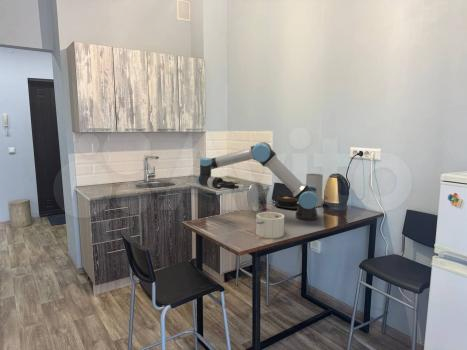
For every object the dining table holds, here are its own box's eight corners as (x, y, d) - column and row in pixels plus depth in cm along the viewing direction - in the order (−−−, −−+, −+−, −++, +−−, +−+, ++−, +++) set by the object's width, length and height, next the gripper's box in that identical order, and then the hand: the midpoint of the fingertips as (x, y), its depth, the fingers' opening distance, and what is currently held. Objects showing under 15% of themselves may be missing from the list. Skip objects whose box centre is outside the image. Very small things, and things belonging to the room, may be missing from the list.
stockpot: (245, 234, 195) (245, 216, 194) (268, 226, 213) (268, 209, 211) (269, 241, 184) (270, 222, 183) (292, 231, 202) (292, 214, 200)
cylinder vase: (322, 204, 270) (323, 174, 267) (320, 208, 259) (321, 176, 255) (306, 203, 275) (307, 173, 271) (303, 206, 263) (305, 175, 260)
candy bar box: (261, 208, 257) (261, 187, 254) (266, 209, 253) (267, 188, 251) (252, 211, 248) (252, 189, 246) (257, 212, 245) (257, 190, 243)
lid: (250, 215, 195) (248, 215, 196) (267, 209, 208) (265, 209, 209) (246, 185, 195) (244, 185, 196) (263, 181, 208) (261, 181, 209)
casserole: (307, 208, 258) (308, 198, 257) (290, 212, 247) (290, 201, 246) (284, 202, 278) (285, 192, 277) (267, 205, 268) (268, 195, 266)
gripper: (222, 187, 228) (249, 192, 213) (208, 189, 218) (236, 195, 203) (222, 176, 227) (250, 180, 212) (208, 178, 217) (236, 183, 202)
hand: (243, 187), depth 207 cm, fingers closed
